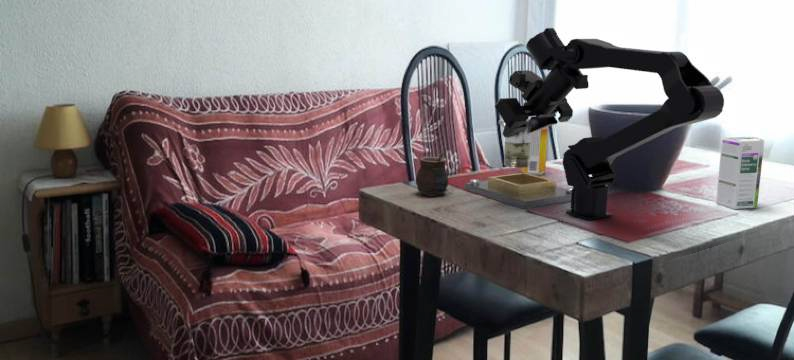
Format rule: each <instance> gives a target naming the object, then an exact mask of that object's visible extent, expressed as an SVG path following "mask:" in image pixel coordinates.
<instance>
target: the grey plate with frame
mask: <svg viewBox="0 0 794 360" xmlns="http://www.w3.org/2000/svg"><path fill="white" fill-rule="evenodd" d="M464 185H465V190H466V191H469V192H472V193H474V194H478V195H480V196H484V197H487V198H490V199H492V200H495V201H498V202H502V203H505V204H508V205H511V206H513V207H517V208H520V209H523V210H527V209H531V208H532V209H533V208H539V207H543V206H550V205H556V204H562V203H567V202H568V203H569V202H571V195H572V189H573V187H566V188H564V187H560V186H557V181H556V180H554V179H550V178H548V177H547V178H546V177H542V176H540V175H536V176H535V175H532V174H528V173H523V172H517V173H509V174H503V175H493V176H488V177H487V179H486V180H479V179H477V178H476V179H475V178H474V179H470V182H465V184H464Z"/></svg>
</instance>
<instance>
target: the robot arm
mask: <svg viewBox="0 0 794 360" xmlns="http://www.w3.org/2000/svg"><path fill="white" fill-rule="evenodd" d="M525 47H526V50H527V51H528V54H530V55H531V58H533V61H534V62H535V63H536V65H537V66H538V67H539V69H540V70H542V71H546V70H547V71H548V72H549V73H548V74H547V75H546V76H545V77H543V78H542V77H541V76H539V75H538V74H537V73H535V72H533V71H532V70H515V71H513V72H512V74H511V75H510V76H509V80H508V83H509V84H510V85H511V86H512V87H513V88H515V89H517V90H519V91H520V92H521V93H522V94H521V98H522V99H523V101H526V102H523V104H522V105H521V103H520V101H519V100H518V98H517V97H503V98H500V99H498V101H497V102H496V104H495V105H494V108H495V109H496V111H497V112H498V114H499V115H500V117H501V120H503V121H504V122H505V127H504V128H503V131H502V136H503V137H504V138H505V137H508V136H510V135H512V134H514V133H516V132H518V131H520V130H522V129H524V128H526V127H527V126H526V124H525V122H526V121H527V120H528V119H529V117H531V118H530V119H531V120H532V122H531V133H532V132H534V131H537V130H540V129H543V128H545V127H548V128H549V127H551V126H554V125H557V124H558V123H567V122H569V121H570V119H572V118H573V115H574V110H573V108H572V106H571V105H570V104H569V102H568V99H567V98H566V97H567V96H569V94H570V93H571V92H572V91H573V89H575V90H582V89H583V90H585V89H588V88H589V79H588V78H589V75H588V74H583V73H582V71H581V70H588V69H589V70H590V69H591V70H592V69H603V68H605V69H606V68H614V69H621V70H628V71H630V70H631V71H637V72H646V73H653V74H658V76H659V77H660V80H661V84H662V88H663V92H664V94H665V95H666V97H667V98H666V100H665V101H664V102H663V104H662V105H661V107H659V109H658V110H656V111H654V112H651V113H650V114H647V115H646V116H645V117H642V118H641V119H639V120H637V121H635V122H633V123H631V124H630V125H627V126H626V127H624V128H622V129H619V130H618V131H617V132H614V133H613V134H611V135H609V136H606V137H605V138H604V136H603V135H597V136H596V135H595V136H590V137H588V136H587V137H583V138H581V139H580V140H579V141H577V142H576V143H574V144H571V145H567V147H568V149H567V150H566V151H565V152H564V153H563V155H562V156H563V157H562V166H563V171H564V175H565V179H566V184H567V186H571V187H572V188H573V189H572V195H571V201H570V209H566V210H565V213H566V214H569V215H571V216H574V217H575V216H576V217H577V218H581V219H583V220H584V219H585V220H588V221H592V220H596V219H602V218H608V217H612V216H613V213H611V212H608V211H607V207H608V196H609V192H608V191H609V186H608V185H613V184H615V181H616V178H617V173H616V171H615V170H614V169H613V167H612V166H611V165H612V163H613V162H614V160H615V159H616V158H618V157H619V156H621V155H624V154H625V153H627V152H629V151H632V150H633V149H636V148H637V147H640V146H642V145H644V144H645V143H648V142H650V141H651V140H654V139H656V138H658V137H660V136H662V135H664V134H666V133H668V132H670V131H672V130H674V129H677V128H679V127H684V126H688V125H693V124H696V123H700V122H704V121H705V122H706V121H708V120H711V119H714V118H717V117H718V116H719V115H721V114H722V112H723V108H724V106H725V99H724V94H723V92H722V91H721V89H719V88H717V87H716V86H714V85H713V84H712V82H711V80H710V78H708V77H707V76H706V75H705V74H704V73H703V72H701V71H700V70H699V69H698V68H697V67H696V66H695V65H694V64H693V63H692V62H691V60H690V59H689V58H688V56H687V55H686V54H685V53H684V52H681V51H663V50H662V51H661V50H650V49H640V48H630V47H621V46H617V45H614V44H612V43H610V42H608V41H605V40H601V39H599V38H572V39H570V40H569V41H568V43H567V44H566V45H565V44H564V43H563V41H562V40H561V38H560V36H558V33H557V31H556V30H555V28H553V27H546V28H545V29H544V30H543V31H541V32H539V33H537V34H535V35H534V36H533V37H531V38H529V40H527V43H526V46H525ZM557 114H559V116H558V118H556V117H557Z"/></svg>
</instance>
